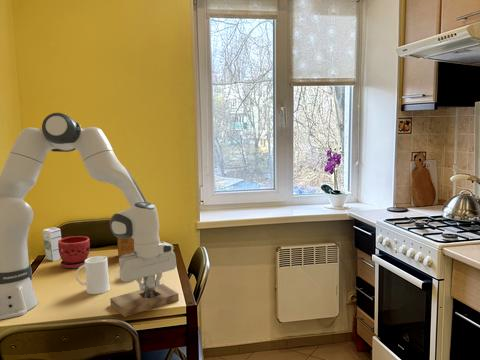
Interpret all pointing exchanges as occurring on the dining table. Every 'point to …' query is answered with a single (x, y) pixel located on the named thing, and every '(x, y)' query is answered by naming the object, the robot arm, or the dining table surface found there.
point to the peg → (149, 286)
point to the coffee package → (125, 246)
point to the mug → (96, 275)
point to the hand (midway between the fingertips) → (149, 287)
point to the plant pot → (74, 251)
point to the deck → (143, 300)
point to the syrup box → (52, 243)
